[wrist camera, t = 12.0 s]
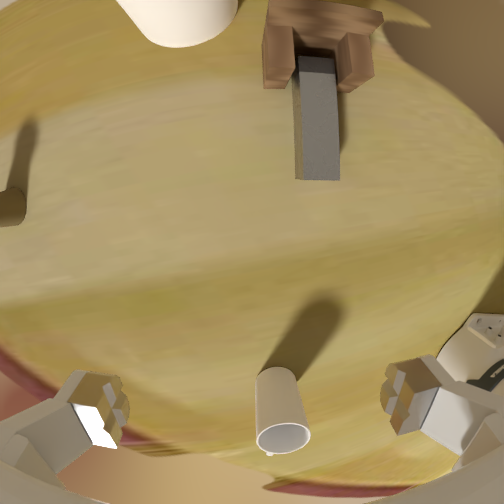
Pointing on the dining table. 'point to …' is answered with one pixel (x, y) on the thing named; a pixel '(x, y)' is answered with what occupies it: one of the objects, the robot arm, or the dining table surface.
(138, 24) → the canister
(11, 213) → the cork
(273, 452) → the mug
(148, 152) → the dining table surface
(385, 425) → the dining table surface
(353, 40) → the wooden chair block
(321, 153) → the rectangular grey metal block
